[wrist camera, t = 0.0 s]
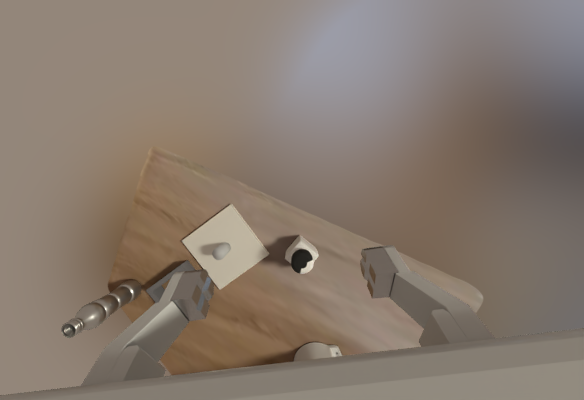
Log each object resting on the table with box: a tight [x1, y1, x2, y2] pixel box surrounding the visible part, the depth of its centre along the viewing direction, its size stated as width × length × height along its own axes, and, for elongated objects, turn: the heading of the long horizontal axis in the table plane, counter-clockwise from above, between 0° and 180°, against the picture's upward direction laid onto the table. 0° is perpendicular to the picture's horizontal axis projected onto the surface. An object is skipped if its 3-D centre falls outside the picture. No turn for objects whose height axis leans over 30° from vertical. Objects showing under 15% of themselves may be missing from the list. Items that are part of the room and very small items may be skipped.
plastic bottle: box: [61, 280, 142, 338], centre depth 58 cm, size 6×7×20 cm
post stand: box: [182, 204, 269, 289], centre depth 63 cm, size 20×20×7 cm
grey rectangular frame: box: [146, 260, 214, 303], centre depth 66 cm, size 14×14×4 cm
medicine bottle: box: [285, 235, 319, 274], centre depth 60 cm, size 7×7×12 cm
